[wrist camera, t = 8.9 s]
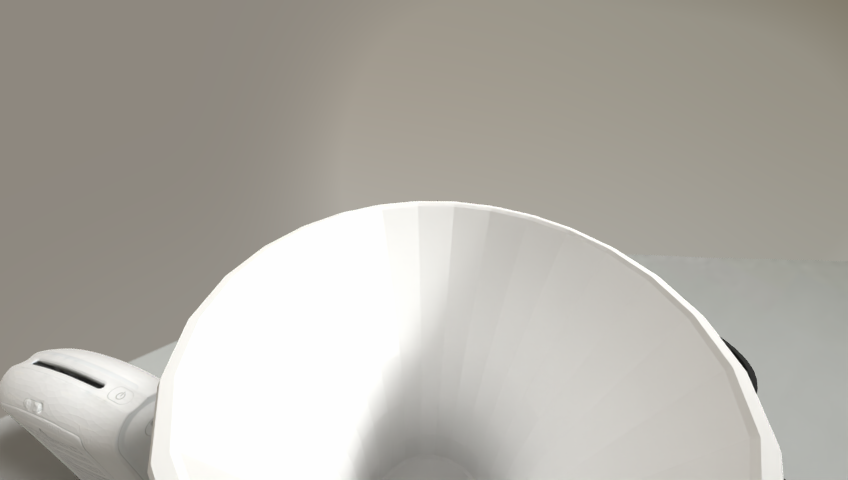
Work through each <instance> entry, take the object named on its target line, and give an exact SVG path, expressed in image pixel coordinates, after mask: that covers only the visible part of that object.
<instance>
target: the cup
mask: <svg viewBox="0 0 848 480" xmlns="http://www.w3.org/2000/svg"><path fill="white" fill-rule="evenodd" d="M147 473H148V476H149V480H784V478H783V464H782V454H781V450H780V447H779V445H778V442H777V440H776V438H775V435H774V433H773V431H772V429H771V426H770V424H769V422H768V419H767V417H766V415H765V412H764V410H763V408H762V406H761V403H760V401H759V399H758V396H757V394H756V392H755V390H754V387H753V385H752V383H751V380H750V378H749V376H748V373H747V371H746V370H745V369H744V368H743V366H742V365H741V364H740V362H739V361H738V360H737V359H736V357H735V356H734V355H733V353H732V352H731V351H730V350H729V348H728V347H727V346H726V344H725V343H724V342H723V340H722V339H721V338H720V337H719V335H718V334H717V333H716V331H715V330H714V329H713V328H712V326H711V325H710V324H709V322H708V321H707V320H706V319H705V317H704V316H703V315H702V314H701V313H699V312H698V311H697V310H696V309H695V308H694V307H693V306H691V305H690V304H689V303H688V302H687V301H686V300H685V299H684V298H682V297H681V296H680V295H679V294H678V293H677V292H676V291H674V290H673V289H672V288H671V287H670V286H669V285H668V284H667V283H665V282H664V281H663V280H662V279H661V278H660V277H659V276H657V275H655V274H654V273H652V272H651V271H649V270H648V269H646V268H645V267H643V266H641V265H640V264H638V263H637V262H635V261H634V260H632V259H630V258H629V257H627V256H626V255H624V254H623V253H621V252H620V251H618V250H616V249H615V248H613V247H611V246H609V245H607V244H604V243H602V242H600V241H598V240H596V239H594V238H592V237H590V236H587V235H585V234H583V233H581V232H579V231H577V230H574V229H573V228H570V227H567V226H564V225H561V224H558V223H555V222H552V221H549V220H546V219H543V218H540V217H537V216H534V215H531V214H527V213H522V212H518V211H513V210H509V209H504V208H499V207H495V206H489V205H480V204H471V203H462V202H446V201H445V202H444V201H443V202H442V201H414V202H403V203H392V204H382V205H376V206H371V207H366V208H362V209H357V210H352V211H348V212H343V213H340V214H337V215H334V216H331V217H328V218H325V219H323V220H319V221H317V222H314V223H311V224H308V225H305V226H303V227H301V228H299V229H297V230H295V231H293V232H291V233H290V234H287V235H285V236H283V237H281V238H280V239H278V240H276V241H274V242H272V243H270V244H268V245H266V246H264V247H263V248H262V249H260V250H259V251H258V252H256V253H255V254H254V255H252V256H251V257H250V258H249V259H247V260H246V261H245V262H243V263H242V264H241V265H239V266H238V267H237V268H235V269H234V270H233V271H231V272H230V273H229V274H228V275H226V276H225V277H224V278H223V280H222V281H221V282H220V283H219V284H218V285H217V287H216V288H215V289H214V290H213V291H212V292H211V294H210V295H209V296H208V297H207V298H206V300H205V301H204V302H203V303H202V304H201V305H200V306H199V308H198V309H197V310H196V311H195V312H194V313H193V315H192V316H191V317H190V318H189V320H188V322H187V324H186V326H185V328H184V330H183V332H182V334H181V336H180V339H179V341H178V343H177V345H176V347H175V349H174V351H173V353H172V355H171V358H170V360H169V362H168V364H167V366H166V368H165V370H164V372H163V375H162V377H161V379H160V381H159V383H158V386H157V394H156V402H155V411H154V419H153V428H152V436H151V445H150V454H149V462H148V471H147Z"/></svg>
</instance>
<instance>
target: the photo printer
mask: <svg viewBox="0 0 848 480" xmlns="http://www.w3.org/2000/svg"><path fill="white" fill-rule="evenodd" d="M159 381H160V379H159V378H158V377H156V376H154V375H152V374H150V373H148V372H146V371H144V370H142V369H140V368H138V367H136V366H133V365H131V364H129V363H126V362H123V361H120V360H118V359H115V358H112V357H109V356H106V355H102V354H99V353H95V352H91V351H86V350H80V349H53V350H46V351H41V352H37V353H35V354H34V355H33V356H32V357H30V359H28V360H26V361H24V362H23V363H20V364H18V365H15V366H12V367H11V368H10V369H9V370H8V371H7V372H6V373H5V375H4V376H3V378H2V380H1V382H0V403H1V406H2V408H3V409H4V411H5V412H6V413H7V414H8V415H10V416H11V417H12V418H13V419H14V420H15V421H17V423H19V424H20V425H21V426H22V427H24V428H25V429H26V430H27V431H28V432H29V433H30V434H32V435H33V436H34V437H35V438H36V439H37V440H38V441H39V442H40V443H42V444H43V445H44V446H45V447H46V448H47V449H48V450H49V451H50V452H52V453H53V454H54V455H55V456H56V457H57V458H58V459H59V460H60V461H61V462H62V463H63V464H65V465H66V466H67V467H68V468H69V469H70V470H71V471H72V472H73V473H74V474H75V475H76V476H77V477H78V478H79V479H80V480H149V476H148V473H147V471H148V462H149V454H150V445H151V436H152V428H153V419H154V411H155V402H156V394H157V386H158V383H159Z"/></svg>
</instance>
